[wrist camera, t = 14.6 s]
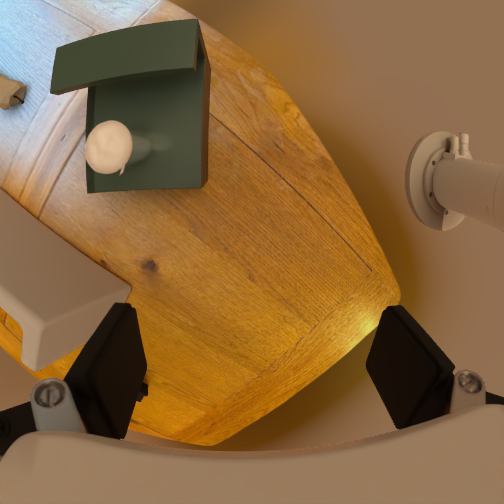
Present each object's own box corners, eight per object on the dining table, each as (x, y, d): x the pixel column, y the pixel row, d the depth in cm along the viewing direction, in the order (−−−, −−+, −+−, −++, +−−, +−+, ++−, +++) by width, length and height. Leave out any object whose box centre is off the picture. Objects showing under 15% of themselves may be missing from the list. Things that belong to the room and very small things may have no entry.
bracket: (30, 228, 46) (-84, 245, 17) (43, 186, 44) (-82, 190, 15) (113, 328, 44) (-22, 408, 15) (134, 285, 41) (-34, 361, 12)
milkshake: (141, 181, 29) (103, 195, 19) (112, 148, 27) (65, 150, 18) (170, 152, 28) (141, 152, 18) (139, 119, 26) (100, 107, 17)
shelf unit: (115, 78, 30) (56, 47, 15) (210, 68, 31) (197, 18, 16) (112, 184, 36) (50, 207, 21) (207, 181, 37) (190, 200, 22)
